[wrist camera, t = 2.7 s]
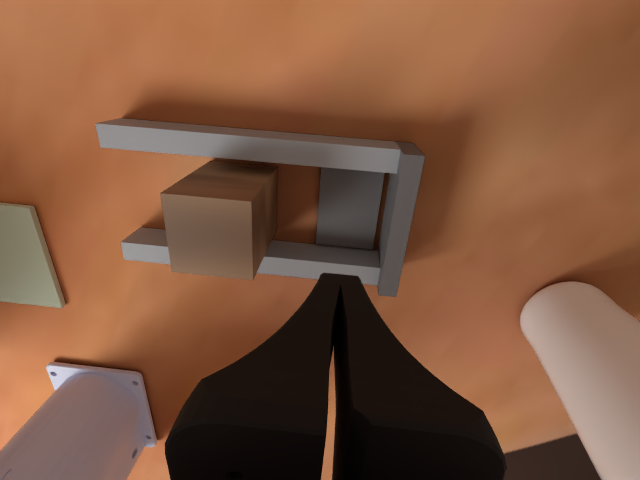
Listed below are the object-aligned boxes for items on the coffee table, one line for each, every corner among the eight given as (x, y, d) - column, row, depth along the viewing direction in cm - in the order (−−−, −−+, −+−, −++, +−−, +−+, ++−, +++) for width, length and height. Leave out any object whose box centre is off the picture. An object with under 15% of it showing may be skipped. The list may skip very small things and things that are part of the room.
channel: (390, 268, 22) (396, 296, 20) (143, 243, 23) (114, 268, 20) (413, 143, 19) (424, 156, 16) (121, 118, 20) (81, 126, 17)
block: (277, 228, 22) (253, 280, 17) (215, 222, 22) (171, 271, 17) (277, 166, 20) (251, 201, 15) (210, 160, 20) (160, 193, 15)
